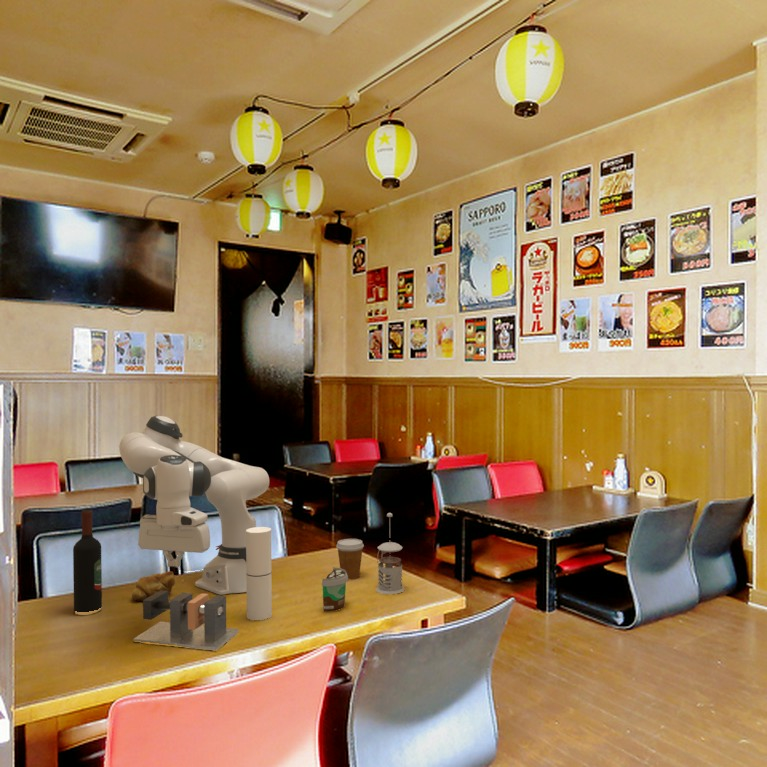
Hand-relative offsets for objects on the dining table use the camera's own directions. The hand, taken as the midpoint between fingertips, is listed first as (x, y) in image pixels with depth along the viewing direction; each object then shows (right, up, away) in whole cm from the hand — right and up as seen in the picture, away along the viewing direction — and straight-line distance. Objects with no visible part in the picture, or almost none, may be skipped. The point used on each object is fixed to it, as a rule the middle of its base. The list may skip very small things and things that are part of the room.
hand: (174, 566), depth 170 cm
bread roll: (-16, -18, +28) cm, 37 cm away
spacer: (+8, -14, -5) cm, 17 cm away
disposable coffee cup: (+45, -17, +47) cm, 67 cm away
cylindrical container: (+21, -18, +11) cm, 30 cm away
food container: (+43, -18, +18) cm, 50 cm away
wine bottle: (-31, -18, +16) cm, 39 cm away
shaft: (+5, -12, -4) cm, 14 cm away
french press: (+59, -17, +33) cm, 70 cm away
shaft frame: (+5, -18, -4) cm, 19 cm away
